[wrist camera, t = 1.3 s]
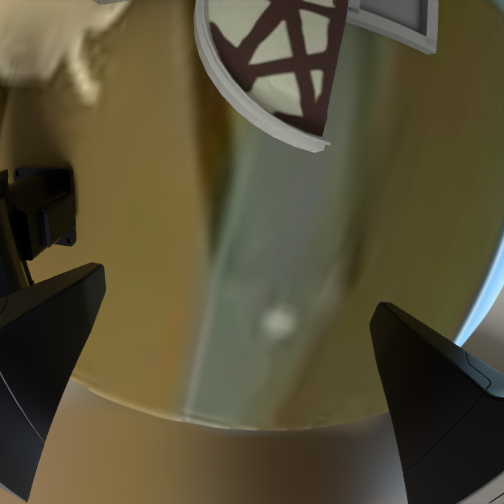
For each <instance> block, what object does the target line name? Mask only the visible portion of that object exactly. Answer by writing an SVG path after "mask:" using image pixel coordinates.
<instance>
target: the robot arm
mask: <svg viewBox="0 0 504 504" xmlns="http://www.w3.org/2000/svg"><path fill="white" fill-rule="evenodd" d="M18 171H19V174H18ZM66 172H67V173H68V177H67V176H66ZM8 177H9V176H8V169H6V170H2V171H0V487H1V488H2V489H4V490H5V491H7V492H9V493H11V494H12V495H14V496H16V497H17V498H20V499H21V500H23V501H25V502H28V499H29V495H30V491H31V487H32V484H33V480H34V476H35V473H36V469H37V466H38V463H39V460H40V457H41V453H42V450H43V447H44V443H45V441H46V438H47V435H48V432H49V429H50V426H51V424H52V421H53V418H54V416H55V413H56V410H57V408H58V405H59V403H60V400H61V398H62V395H63V393H64V390H65V388H66V385H67V383H68V381H69V378H70V376H71V374H72V372H73V369H74V367H75V365H76V363H77V360H78V358H79V356H80V354H81V352H82V349H83V347H84V345H85V343H86V341H87V339H88V337H89V335H90V332H91V330H92V327H93V325H94V322H95V319H96V316H97V314H98V311H99V308H100V306H101V303H102V300H103V298H104V295H105V291H106V283H105V271H104V266H103V265H102V264H99V263H93V262H91V263H88V264H86V265H83V266H80V267H78V268H75V269H72V270H70V271H67V272H65V273H62V274H59V275H57V276H54V277H52V278H49V279H47V280H44V281H42V282H39V283H37V284H35V283H34V281H33V280H32V278H31V275H30V272H29V269H28V266H27V262H26V261H27V260H30V261H31V260H33V259H34V258H35V257H37V256H38V255H39V254H40V253H41V252H42V251H44V250H45V249H46V248H47V247H51V246H52V245H53V244H58V245H64V246H73V245H74V244H75V242H76V234H75V226H76V219H75V197H74V195H73V171H72V170H71V169H70V168H63V167H18V168H16V169H15V170H14V182H13V183H11V184H9V185H8ZM69 238H70V239H71V241H70V240H69ZM370 332H371V338H372V343H373V348H374V353H375V359H376V364H377V368H378V371H379V375H380V378H381V382H382V386H383V389H384V393H385V397H386V401H387V404H388V408H389V412H390V416H391V420H392V425H393V428H394V433H395V437H396V442H397V446H398V451H399V456H400V461H401V466H402V471H403V476H404V482H405V488H406V494H407V500H408V504H504V375H503V374H501V373H500V372H498V371H496V370H494V369H493V368H491V367H490V366H488V365H487V364H485V363H483V362H482V361H480V360H479V359H477V358H475V357H474V356H472V355H471V354H470V353H468V352H466V351H464V350H463V349H462V348H460V347H459V346H457V345H456V344H454V343H453V342H451V341H450V340H448V339H447V338H445V337H444V336H442V335H441V334H439V333H438V332H436V331H435V330H433V329H431V328H430V327H428V326H427V325H425V324H424V323H422V322H421V321H419V320H417V319H416V318H414V317H413V316H411V315H410V314H408V313H406V312H405V311H403V310H402V309H400V308H399V307H397V306H395V305H394V304H392V303H390V302H380V303H379V304H378V305H377V307H376V310H375V312H374V314H373V316H372V318H371V321H370Z"/></svg>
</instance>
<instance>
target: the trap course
mask: <svg viewBox="0 0 504 504" xmlns="http://www.w3.org/2000/svg"><path fill="white" fill-rule="evenodd" d="M93 1H95V2H96V3H98V4H99V5H100V4H106V3H113V2H121V1H130V0H93ZM346 23H350V24H353V25H356V26H359V27H362V28H365V29H368V30H370V31H373V32H376V33H378V34H381V35H384V36H386V37H389V38H391V39H394V40H396V41H399V42H401V43H403V44H405V45H408V46H410V47H412V48H414V49H417V50H419V51H421V52H423V53H425V54H427V55H429V54H434V53H436V46H437V30H438V0H349V1H348V11H347V17H346Z"/></svg>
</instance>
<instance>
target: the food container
mask: <svg viewBox="0 0 504 504" xmlns="http://www.w3.org/2000/svg"><path fill="white" fill-rule="evenodd" d="M348 1H349V0H196V5H195V11H194V36H195V40H196V44H197V48H198V52H199V56H200V58H201V60H202V62H203V65H204V67H205V69H206V71H207V74H208V75H209V77H210V78H211V80H212V81H213V83H214V84H215V86H216V87H217V89H218V90H219V92H220V93H221V94H222V95H223V97H224V98H225V99H226V100H227V101H228V102H229V103H230V104H231V105H232V106H233V107H234V109H235V110H236V111H238V112H239V113H240V114H241V115H243V116H244V117H245V118H246V119H247V120H249V121H250V122H251V123H252V124H253V125H255V126H257V127H258V128H260V129H262V130H263V131H265V132H266V133H268V134H270V135H271V136H273V137H275V138H277V139H279V140H281V141H284V142H286V143H288V144H290V145H292V146H295V147H298V148H301V149H304V150H308V151H311V152H314V153H315V152H319V151H323V150H324V149H325V145H330V144H331V143H330V142H328V141H327V140H326V139H325V138H323V137H322V135H323V132H324V126H325V123H326V120H327V110H328V104H329V99H330V94H331V89H332V84H333V79H334V74H335V70H336V65H337V60H338V55H339V50H340V45H341V41H342V36H343V31H344V26H345V22H346V17H347V11H348Z"/></svg>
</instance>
